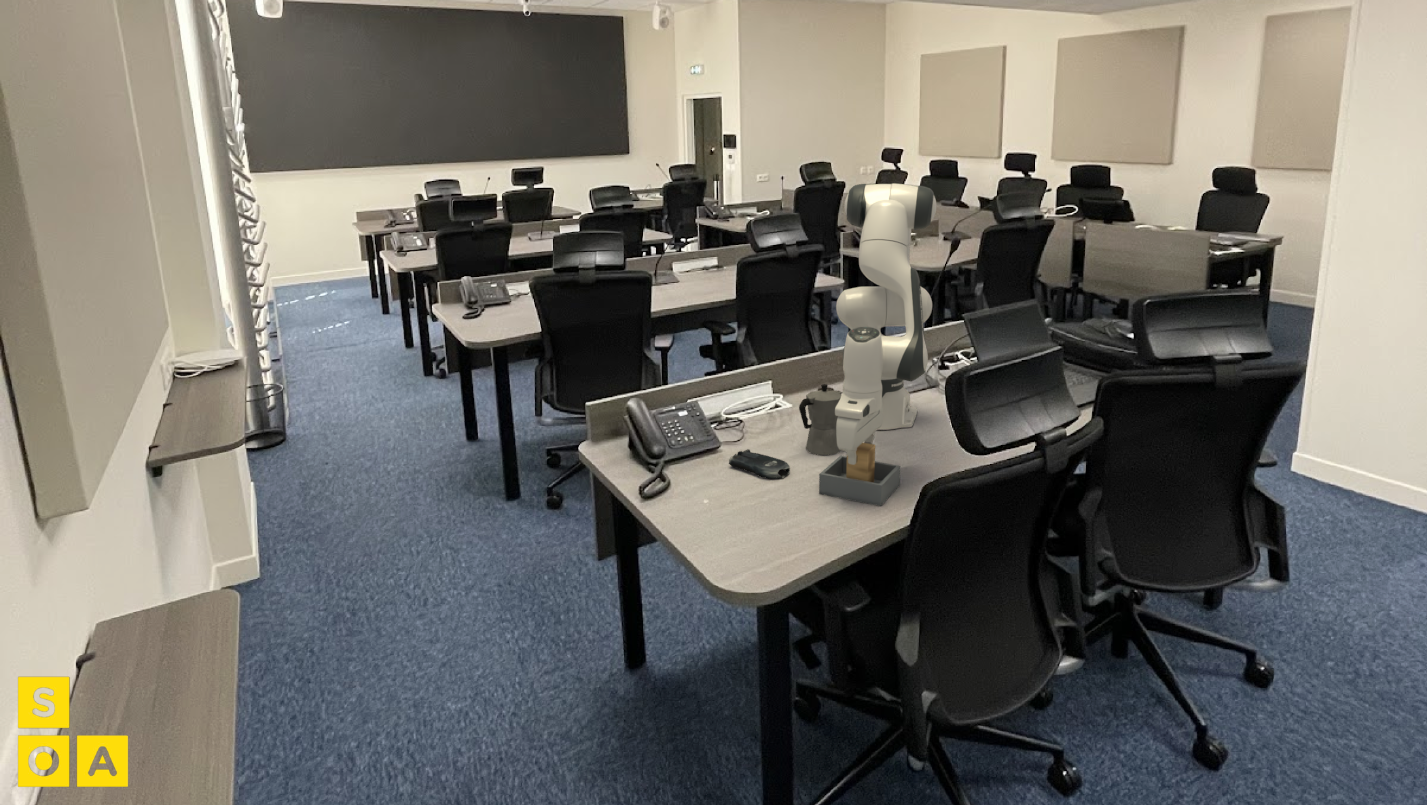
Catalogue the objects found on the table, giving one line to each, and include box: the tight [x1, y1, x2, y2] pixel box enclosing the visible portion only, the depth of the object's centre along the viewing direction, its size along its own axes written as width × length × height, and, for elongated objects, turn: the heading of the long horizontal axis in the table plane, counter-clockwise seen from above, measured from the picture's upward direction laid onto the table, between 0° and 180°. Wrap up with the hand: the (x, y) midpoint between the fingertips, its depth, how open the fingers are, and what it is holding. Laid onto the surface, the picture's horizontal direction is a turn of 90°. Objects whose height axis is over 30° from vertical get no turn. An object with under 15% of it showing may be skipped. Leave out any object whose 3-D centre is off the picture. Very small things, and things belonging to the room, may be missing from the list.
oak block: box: [846, 442, 876, 483], centre depth 202 cm, size 5×5×10 cm
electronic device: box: [728, 448, 791, 480], centre depth 216 cm, size 9×6×15 cm
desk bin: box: [818, 454, 901, 507], centre depth 203 cm, size 13×15×5 cm
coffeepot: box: [798, 383, 843, 457], centre depth 225 cm, size 15×9×18 cm, turn 129°
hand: (860, 456), depth 201 cm, fingers open, 8 cm apart
